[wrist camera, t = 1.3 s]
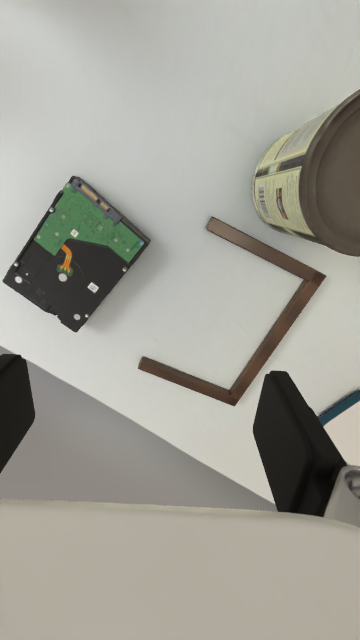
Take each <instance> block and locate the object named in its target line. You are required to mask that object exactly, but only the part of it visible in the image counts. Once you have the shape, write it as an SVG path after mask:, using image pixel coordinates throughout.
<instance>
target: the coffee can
mask: <svg viewBox="0 0 360 640" xmlns="http://www.w3.org/2000/svg"><path fill="white" fill-rule="evenodd" d="M252 198H253V202H254V206H255V209H256V211H257V213H258V215H259V216H260V218H261V219H262V220H263V222H264V223H266V224H267V225H268V226H269V227H271V228H273V229H275V230H277V231H280V232H284V233H288V234H291V235H295V236H298V237H301V238H304V239H307V240H310V241H313V242H316V243H319V244H322V245H325V246H327V247H329V248H331V249H332V250H335V251H337V252H339V253H342V254H346V255H350V256H360V90H358V91H357V92H355V93H354V94H352V95H351V96H350V97H348V98H347V99H346V100H344V101H343V102H342V103H341V104H339V105H337V106H336V107H334V108H332V109H330V110H329V111H327V112H325V113H324V114H322V115H320V116H319V117H317V118H315V119H313V120H312V121H310V122H308V123H306V124H305V125H303V126H301V127H300V128H298V129H296V130H294V131H293V132H290V133H288V134H286V135H284V136H282V137H281V138H279V139H278V140H277V141H275V142H274V143H273V144H272V145H271V146H270V147H269V148H268V149H267V150H266V151H265V153H264V154H263V156H262V157H261V159H260V161H259V163H258V165H257V167H256V170H255V173H254V176H253V181H252Z"/></svg>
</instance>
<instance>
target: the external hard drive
mask: <svg viewBox="0 0 360 640" xmlns="http://www.w3.org/2000/svg"><path fill="white" fill-rule="evenodd" d="M319 421H320V422H321V424H322V426H323V427H324V429H325V430H326V432H327V434H328V435H329V437H330V438H331V440H332V441H333V443H334V445H335V446H336V448H337V449H338V451H339V453H340V454H341V456H342V457H343V459H344V460H345V462H346V463H347V464H348V465H356V466H360V391H358V392H356V393H354V394H352V395H351V396H349V397H348V398H346V399H345V400H343V401H342V402H341V403H339V404H338V405H336V406H335V407H333V408H332V409H330V410H329V411H328V412H326V413H325V414H323V415H322V416H321V417H320V418H319Z"/></svg>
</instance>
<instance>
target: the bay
mask: <svg viewBox="0 0 360 640" xmlns="http://www.w3.org/2000/svg"><path fill="white" fill-rule="evenodd" d="M206 229H207V230H208V231H210V232H212V233H214V234H216V235H218V236H220V237H222V238H224V239H226V240H228V241H230V242H232V243H234V244H236V245H238V246H240V247H242V248H244V249H246V250H248V251H249V252H251V253H253V254H255V255H257V256H259V257H261V258H263V259H265V260H267V261H269V262H271V263H273V264H275V265H277V266H279V267H281V268H283V269H285V270H287V271H289V272H291V273H293V274H295V275H297V276H299V277H301V278H303V279H305V280H304V281H303V283H302V284H301V286H300V287H299V289H298V290H297V292H296V293H295V295H294V296H293V298H292V299H291V301H290V302H289V303H288V305H287V306H286V308H285V309H284V311H283V312H282V314H281V315H280V317H279V318H278V320H277V321H276V323H275V324H274V326H273V327H272V329H271V330H270V332H269V333H268V335H267V336H266V338H265V339H264V341H263V342H262V343H261V345H260V346H259V348H258V349H257V351H256V352H255V354H254V355H253V357H252V358H251V360H250V361H249V363H248V364H247V366H246V367H245V369H244V370H243V372H242V373H241V375H240V376H239V378H238V379H237V380H236V382H235V383H234V385H233V386H232V388H231V389H230V391H229V390H226V389H224V388H221V387H219V386H216V385H214V384H211V383H209V382H206V381H204V380H201V379H199V378H196V377H194V376H191V375H189V374H186V373H184V372H181V371H179V370H176V369H174V368H171V367H168V366H166V365H163V364H161V363H158V362H156V361H153V360H151V359H148V358H146V357H142V359H141V361H140V363H139V367H138V369H140V370H142V371H145V372H148V373H150V374H153V375H155V376H158V377H160V378H163V379H166V380H168V381H171V382H173V383H176V384H178V385H181V386H184V387H186V388H189V389H191V390H194V391H197V392H199V393H202V394H204V395H207V396H209V397H212V398H215V399H217V400H220V401H222V402H225V403H227V404H230V405H232V406H235V405H236V404H237V402H238V401H239V399H240V398H241V397H242V395H243V394H244V392H245V391H246V389H247V388H248V387H249V385H250V384H251V382H252V381H253V380H254V378H255V377H256V375H257V374H258V372H259V371H260V370H261V368H262V367H263V365H264V364H265V362H266V361H267V360H268V358H269V357H270V355H271V354H272V353H273V351H274V350H275V348H276V347H277V345H278V344H279V343H280V341H281V340H282V338H283V337H284V335H285V334H286V333H287V331H288V330H289V328H290V327H291V326H292V324H293V323H294V321H295V320H296V318H297V317H298V316H299V314H300V313H301V311H302V310H303V308H304V307H305V306H306V304H307V303H308V301H309V300H310V299H311V297H312V296H313V294H314V293H315V291H316V290H317V289H318V287H319V286H320V284H321V283H322V281H323V280H324V279H325V277H326V275H324V274H322V273H320V272H318V271H316V270H314V269H312V268H311V267H309V266H307V265H305V264H303V263H301V262H299V261H297V260H295V259H293V258H291V257H289V256H287V255H285V254H284V253H282V252H280V251H278V250H276V249H274V248H272V247H270V246H268V245H266V244H264V243H262V242H260V241H258V240H257V239H255V238H253V237H251V236H249V235H247V234H245V233H243V232H241V231H239V230H237V229H235V228H233V227H232V226H230V225H228V224H226V223H224V222H222V221H220V220H218V219H216V218H214V217H211V219H210V221H209V223H208V225H207V227H206Z"/></svg>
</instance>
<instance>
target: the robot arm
mask: <svg viewBox="0 0 360 640" xmlns="http://www.w3.org/2000/svg"><path fill="white" fill-rule="evenodd" d="M34 418H35V410H34V404H33V398H32V392H31V386H30V381H29V374H28V368H27V363H26V360H25V359H22V357H21V355H15V354H2V355H1V356H0V473H1V471H2V470H3V468H4V467H5V465H6V464H7V462H8V460H9V459H10V458H11V456H12V454H13V453H14V451H15V450H16V448H17V446H18V445H19V444H20V442H21V440H22V439H23V437H24V436H25V434H26V433H27V431H28V430H29V428H30V427H31V425H32V424H33V422H34ZM253 434H254V438H255V441H256V444H257V447H258V450H259V453H260V457H261V460H262V463H263V466H264V469H265V472H266V476H267V479H268V482H269V485H270V488H271V491H272V494H273V498H274V501H275V504H276V507H277V510H278V512H273V511H272V512H271V511H258V510H243V509H226V508H205V507H186V506H166V505H145V504H124V503H100V502H78V501H54V500H27V499H2V498H0V640H360V466H356V465H347V464H346V462H345V460H344V459H343V457H342V456H341V454H340V453H339V451H338V449H337V448H336V446H335V445H334V443H333V441H332V440H331V438H330V437H329V435H328V434H327V432H326V430H325V429H324V427H323V426H322V424H321V422H320V421H319V419H318V418H317V416H316V415H315V413H314V411H313V410H312V409H311V408H310V407H309V406H308V405H307V403H306V401H305V400H304V398H303V397H302V395H301V393H300V392H299V390H298V389H297V387H296V385H295V384H294V382H293V381H292V379H291V377H290V376H289V374H288V373H287V372H286V371H271V372H270V374H266V375H265V378H264V382H263V386H262V390H261V395H260V399H259V403H258V407H257V412H256V416H255V420H254V424H253Z"/></svg>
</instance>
